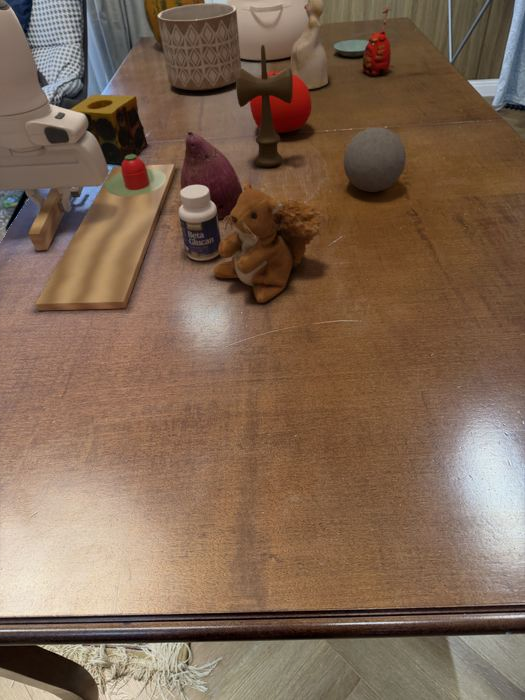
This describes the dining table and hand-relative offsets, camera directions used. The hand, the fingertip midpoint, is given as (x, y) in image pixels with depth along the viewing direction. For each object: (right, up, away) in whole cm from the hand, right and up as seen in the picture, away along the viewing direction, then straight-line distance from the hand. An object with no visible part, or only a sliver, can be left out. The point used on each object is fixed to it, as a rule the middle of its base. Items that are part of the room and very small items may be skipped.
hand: (56, 211), depth 84 cm
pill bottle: (+26, -9, -8) cm, 28 cm away
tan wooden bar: (0, 0, +1) cm, 1 cm away
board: (+11, -3, -2) cm, 11 cm away
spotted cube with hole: (+4, +17, +21) cm, 27 cm away
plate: (+11, +7, +8) cm, 16 cm away
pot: (+36, +68, +70) cm, 104 cm away
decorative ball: (+53, +4, +3) cm, 53 cm away
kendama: (+36, +12, +13) cm, 40 cm away
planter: (+19, +48, +50) cm, 72 cm away
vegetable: (+26, +1, +2) cm, 26 cm away
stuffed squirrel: (+35, -13, -13) cm, 40 cm away
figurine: (+46, +45, +46) cm, 79 cm away
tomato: (+38, +24, +24) cm, 51 cm away
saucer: (+61, +63, +63) cm, 108 cm away
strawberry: (+12, +7, +7) cm, 15 cm away
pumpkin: (+8, +76, +81) cm, 111 cm away
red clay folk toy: (+64, +50, +49) cm, 95 cm away
